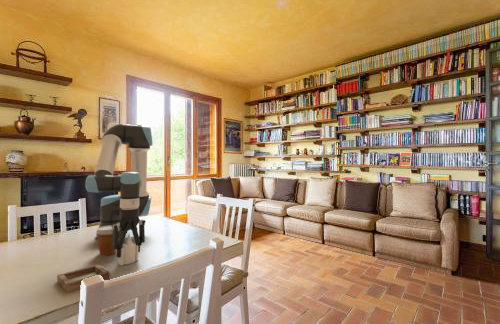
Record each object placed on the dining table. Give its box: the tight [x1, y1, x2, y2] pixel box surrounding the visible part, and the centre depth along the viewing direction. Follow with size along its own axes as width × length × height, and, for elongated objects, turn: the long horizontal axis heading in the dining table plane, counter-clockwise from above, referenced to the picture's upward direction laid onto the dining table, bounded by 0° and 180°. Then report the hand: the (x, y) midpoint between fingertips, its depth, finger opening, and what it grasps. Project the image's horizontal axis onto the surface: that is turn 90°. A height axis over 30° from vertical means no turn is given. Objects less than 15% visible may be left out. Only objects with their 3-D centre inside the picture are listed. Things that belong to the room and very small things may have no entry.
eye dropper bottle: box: [122, 234, 136, 265], centre depth 107 cm, size 4×6×12 cm
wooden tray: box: [56, 263, 111, 293], centre depth 91 cm, size 11×13×2 cm
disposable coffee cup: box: [96, 225, 120, 256], centre depth 118 cm, size 10×10×12 cm
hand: (128, 262), depth 107 cm, fingers closed on eye dropper bottle, 6 cm apart
